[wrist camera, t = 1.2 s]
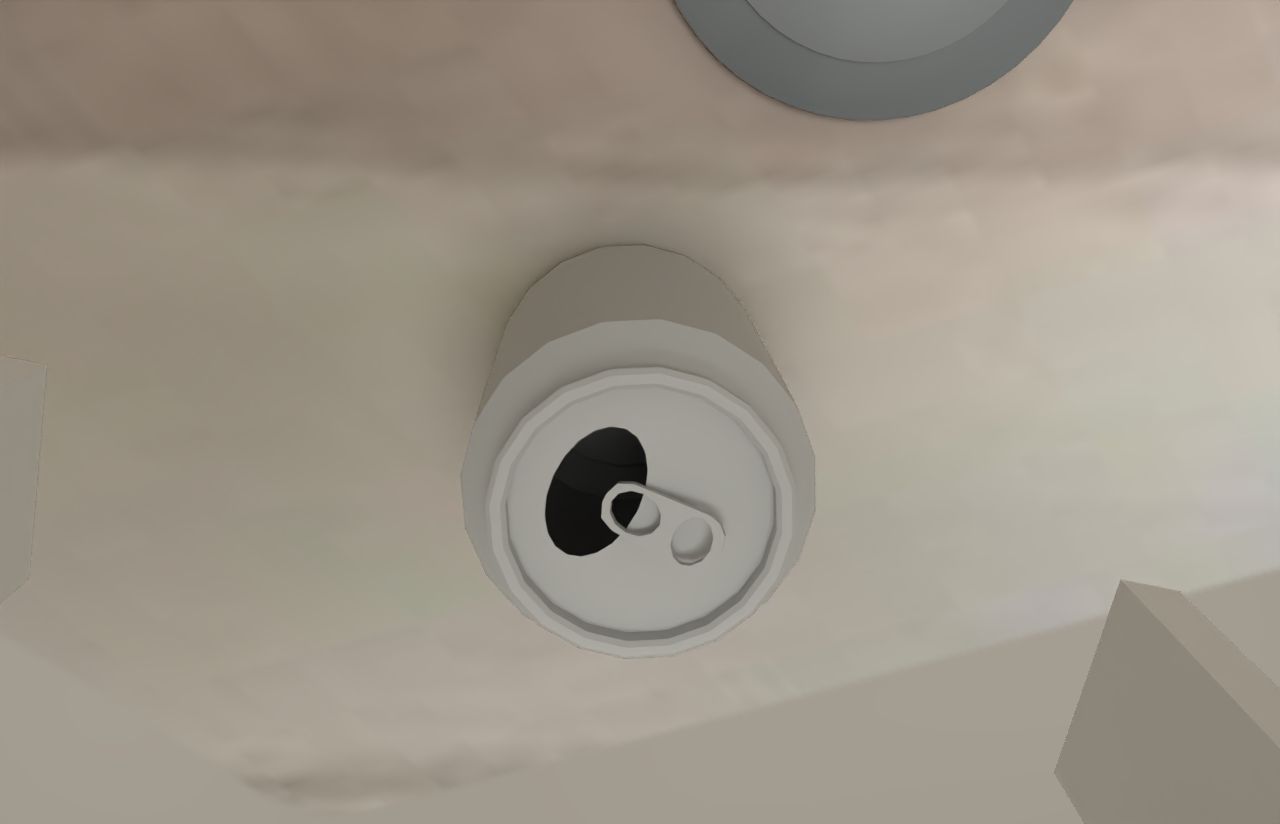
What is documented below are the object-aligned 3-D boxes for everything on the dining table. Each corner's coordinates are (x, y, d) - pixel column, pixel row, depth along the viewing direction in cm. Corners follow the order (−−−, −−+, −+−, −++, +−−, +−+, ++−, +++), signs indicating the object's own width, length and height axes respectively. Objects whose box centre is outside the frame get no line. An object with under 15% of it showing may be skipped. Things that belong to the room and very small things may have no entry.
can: (561, 195, 34) (541, 274, 23) (801, 303, 35) (899, 431, 24) (459, 431, 36) (394, 613, 25) (690, 526, 37) (731, 743, 26)
